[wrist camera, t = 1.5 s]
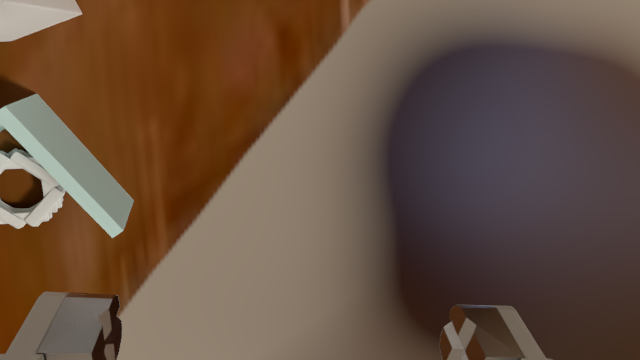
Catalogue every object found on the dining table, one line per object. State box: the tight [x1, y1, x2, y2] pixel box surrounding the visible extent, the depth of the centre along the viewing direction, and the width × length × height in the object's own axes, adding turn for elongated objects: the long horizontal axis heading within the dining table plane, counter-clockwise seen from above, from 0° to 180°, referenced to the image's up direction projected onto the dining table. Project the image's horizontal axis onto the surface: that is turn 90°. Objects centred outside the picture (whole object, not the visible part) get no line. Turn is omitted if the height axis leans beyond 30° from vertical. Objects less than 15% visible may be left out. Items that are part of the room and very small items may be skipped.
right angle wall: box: [0, 94, 134, 238], centre depth 37 cm, size 12×12×8 cm
